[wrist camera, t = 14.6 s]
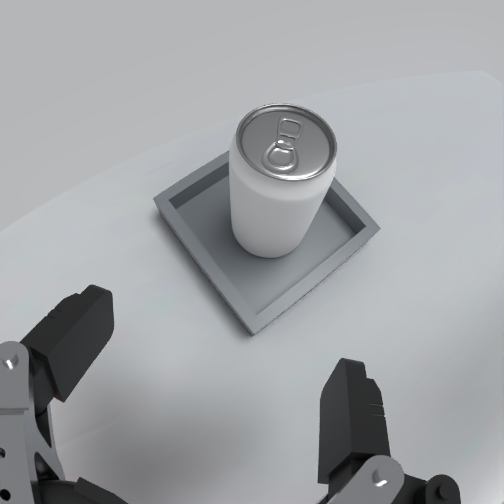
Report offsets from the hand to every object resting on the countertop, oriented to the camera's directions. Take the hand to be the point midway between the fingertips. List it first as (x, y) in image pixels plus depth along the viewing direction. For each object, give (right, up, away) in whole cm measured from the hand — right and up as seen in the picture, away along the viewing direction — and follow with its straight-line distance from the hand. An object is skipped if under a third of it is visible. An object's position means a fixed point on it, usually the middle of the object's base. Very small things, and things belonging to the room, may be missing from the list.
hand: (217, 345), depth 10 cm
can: (+3, +5, +18) cm, 19 cm away
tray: (+2, +5, +18) cm, 19 cm away
